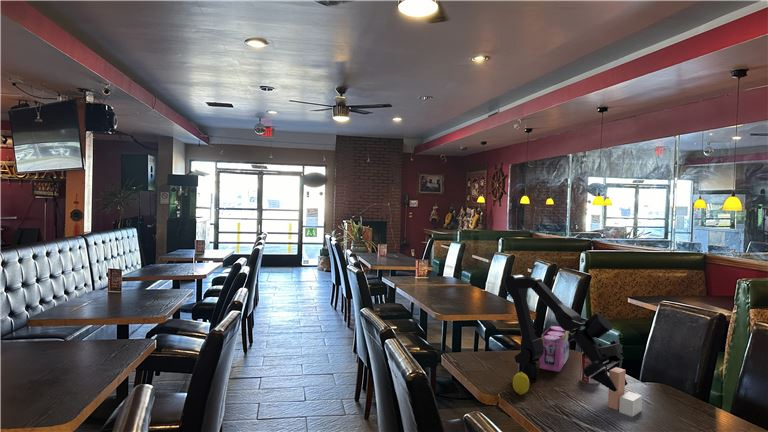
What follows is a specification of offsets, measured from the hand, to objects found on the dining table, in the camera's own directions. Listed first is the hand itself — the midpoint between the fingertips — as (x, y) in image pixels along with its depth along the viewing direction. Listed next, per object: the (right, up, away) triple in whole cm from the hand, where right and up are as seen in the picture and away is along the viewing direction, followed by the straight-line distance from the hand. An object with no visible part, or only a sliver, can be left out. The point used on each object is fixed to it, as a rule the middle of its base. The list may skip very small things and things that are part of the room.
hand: (621, 388), depth 153 cm
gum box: (-5, -6, +45) cm, 46 cm away
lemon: (-30, -6, +10) cm, 32 cm away
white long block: (-3, -7, +3) cm, 8 cm away
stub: (-1, -6, +1) cm, 7 cm away
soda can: (0, -7, +23) cm, 24 cm away
